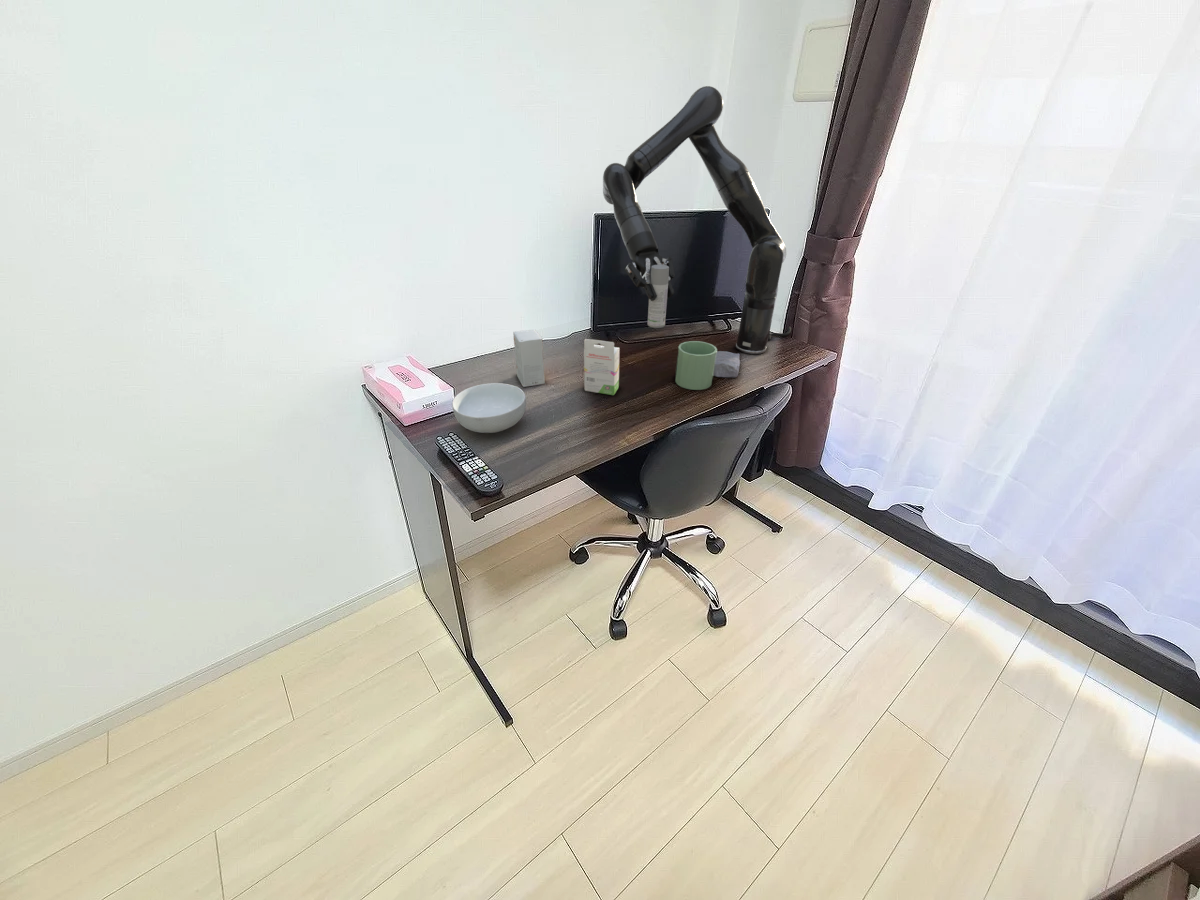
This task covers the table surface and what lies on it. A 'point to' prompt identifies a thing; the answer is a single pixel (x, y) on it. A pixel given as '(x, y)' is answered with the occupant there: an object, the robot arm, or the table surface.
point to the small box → (529, 357)
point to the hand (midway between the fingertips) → (662, 297)
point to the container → (658, 296)
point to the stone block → (726, 364)
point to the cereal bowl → (489, 407)
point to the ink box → (601, 367)
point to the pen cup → (695, 365)
